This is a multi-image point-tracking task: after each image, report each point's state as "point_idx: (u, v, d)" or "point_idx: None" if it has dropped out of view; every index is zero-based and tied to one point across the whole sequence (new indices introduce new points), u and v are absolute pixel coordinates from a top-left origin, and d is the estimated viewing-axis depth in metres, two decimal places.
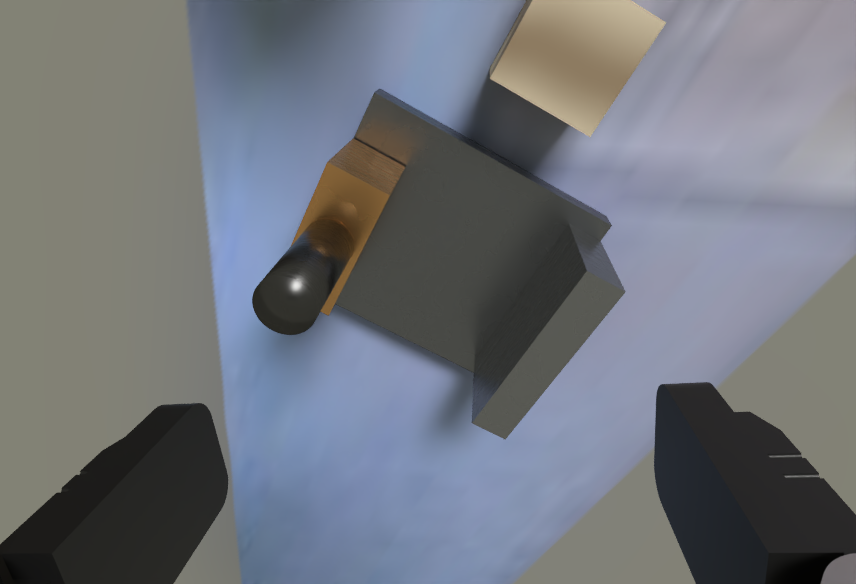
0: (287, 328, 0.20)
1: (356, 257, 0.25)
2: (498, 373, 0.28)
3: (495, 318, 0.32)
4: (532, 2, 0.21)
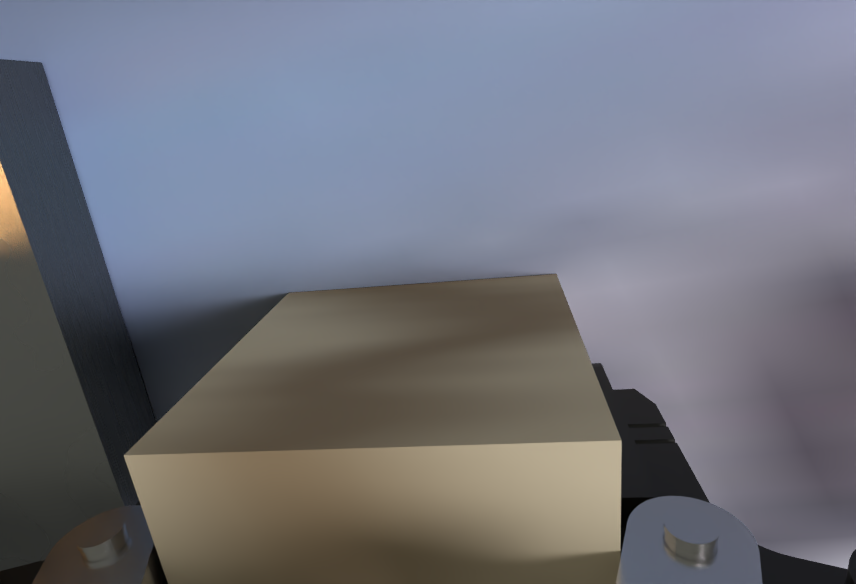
0: None
1: None
2: None
3: None
4: (428, 449, 0.05)
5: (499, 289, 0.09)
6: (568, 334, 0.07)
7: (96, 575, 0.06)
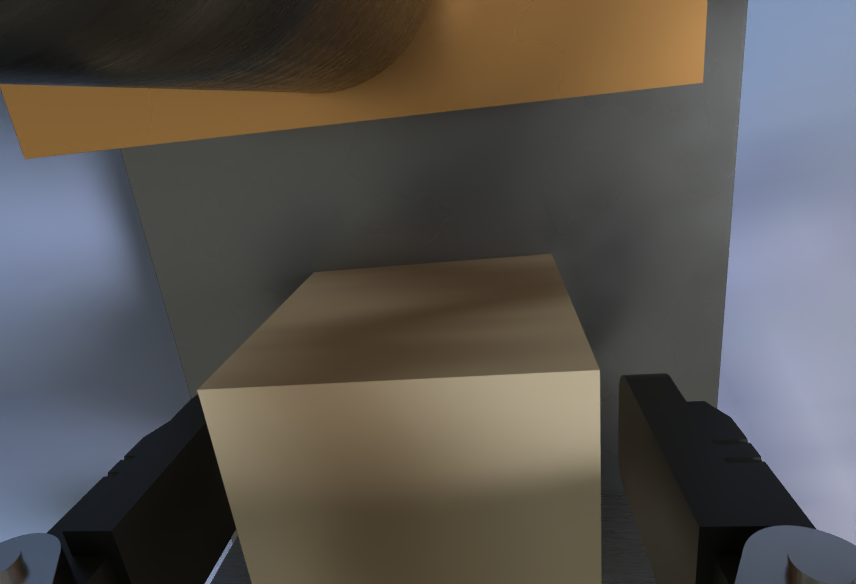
0: None
1: (340, 115, 0.05)
2: None
3: None
4: (445, 379, 0.07)
5: (502, 265, 0.11)
6: (560, 298, 0.09)
7: None
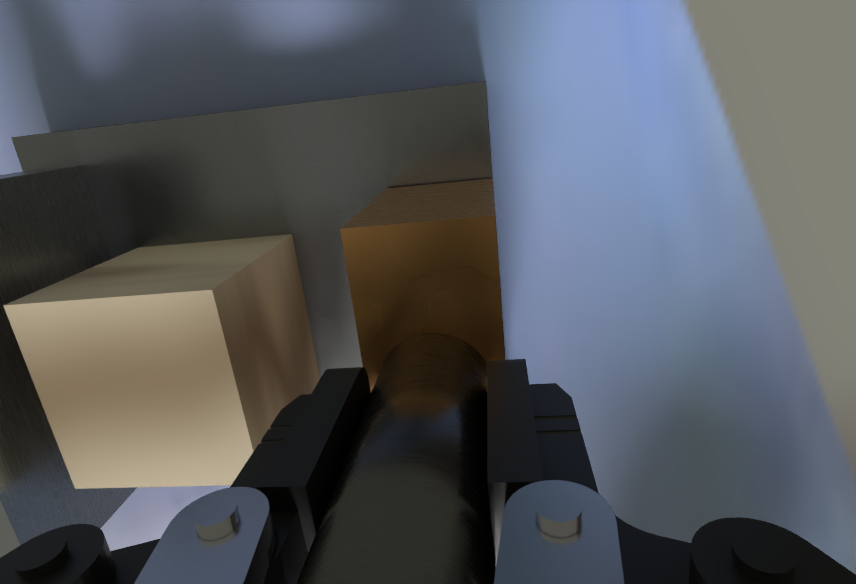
0: None
1: None
2: None
3: None
4: (243, 419, 0.13)
5: (309, 363, 0.17)
6: None
7: (220, 553, 0.06)
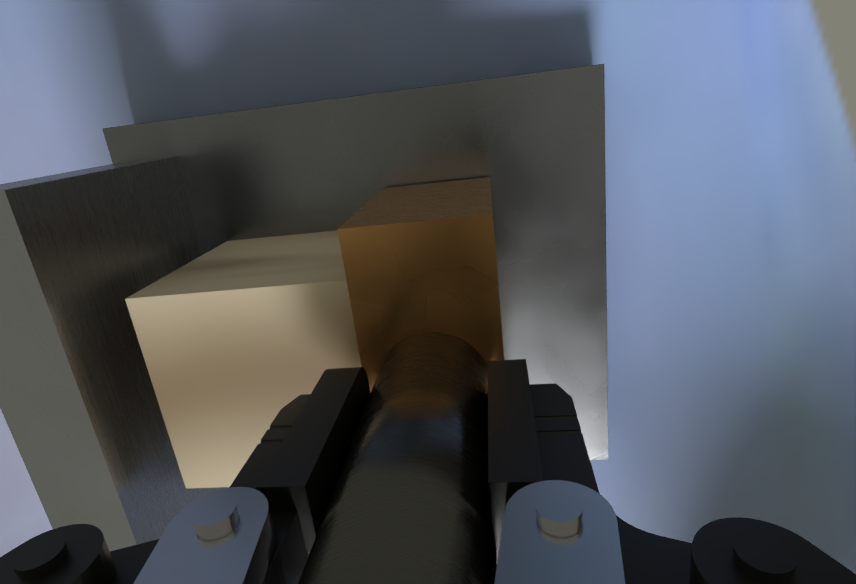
0: None
1: None
2: (91, 305, 0.12)
3: None
4: None
5: None
6: None
7: (219, 553, 0.06)
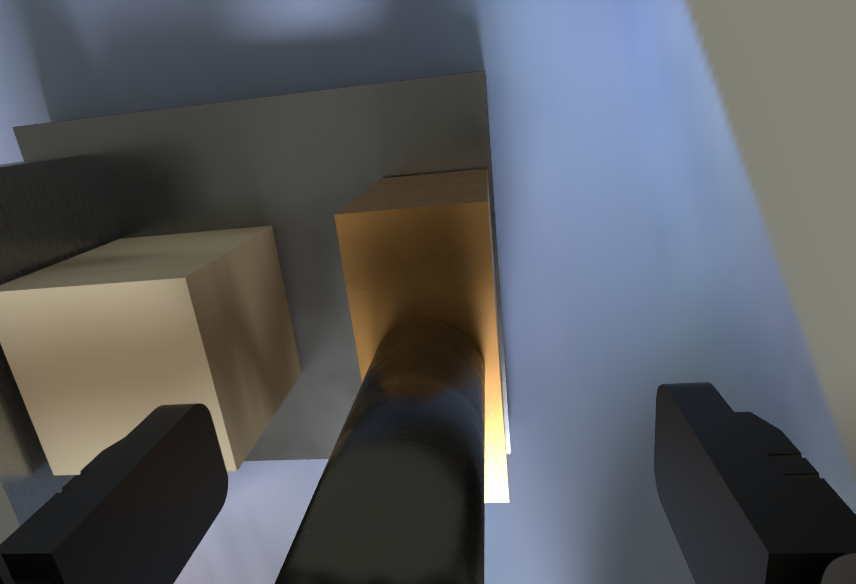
0: (324, 572, 0.06)
1: (364, 375, 0.12)
2: None
3: None
4: (218, 406, 0.13)
5: (289, 353, 0.17)
6: (271, 412, 0.15)
7: None
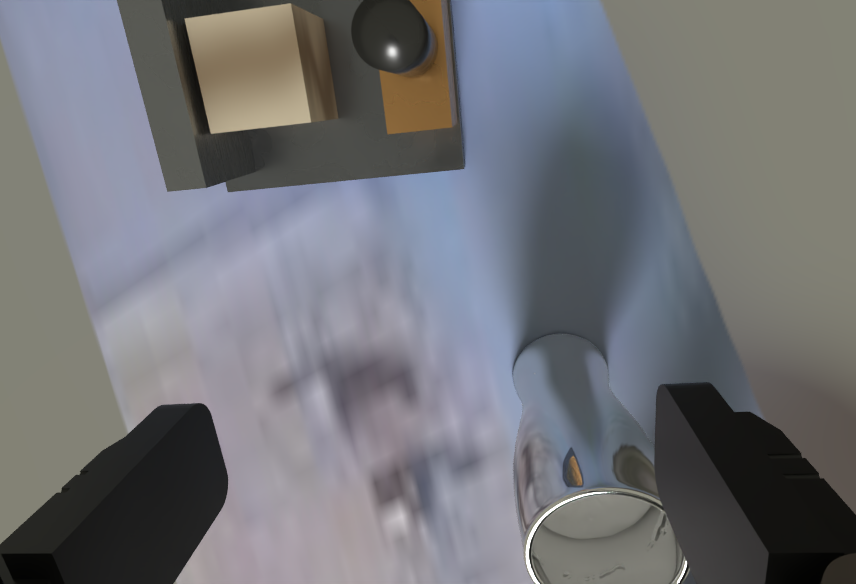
0: (370, 6, 0.18)
1: None
2: (179, 22, 0.24)
3: None
4: (303, 81, 0.25)
5: (332, 99, 0.29)
6: (324, 117, 0.27)
7: None
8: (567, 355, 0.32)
